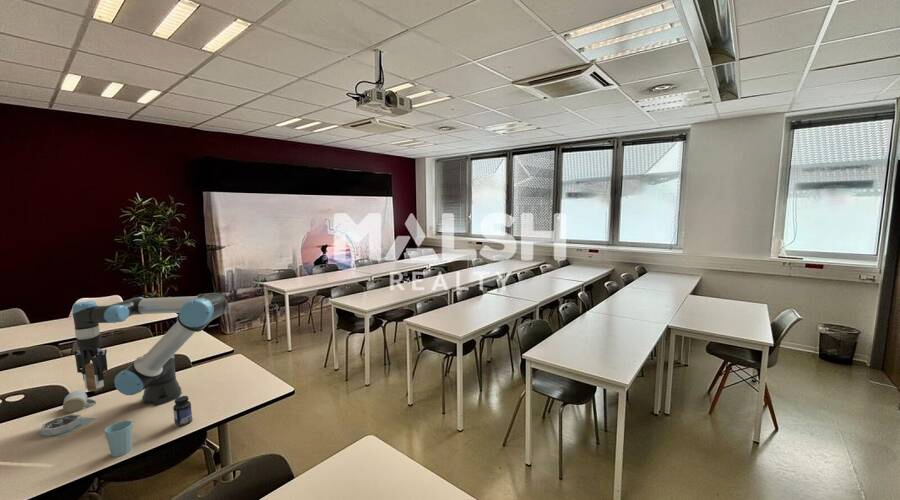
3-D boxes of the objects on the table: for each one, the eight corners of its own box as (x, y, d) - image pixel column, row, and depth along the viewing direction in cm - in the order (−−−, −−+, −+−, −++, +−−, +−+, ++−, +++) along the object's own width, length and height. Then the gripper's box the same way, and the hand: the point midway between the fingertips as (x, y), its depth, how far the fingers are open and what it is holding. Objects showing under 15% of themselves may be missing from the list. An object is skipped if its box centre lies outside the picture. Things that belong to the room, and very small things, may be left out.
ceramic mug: (63, 416, 162) (61, 400, 162) (64, 409, 168) (63, 393, 168) (96, 408, 169) (95, 392, 169) (96, 401, 175) (95, 386, 175)
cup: (107, 451, 138) (105, 425, 137) (134, 443, 143) (132, 418, 142) (106, 461, 132) (103, 434, 131) (134, 452, 137) (132, 426, 136)
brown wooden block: (93, 388, 164) (89, 363, 163) (102, 388, 164) (98, 363, 163) (87, 391, 162) (84, 365, 161) (97, 391, 162) (93, 365, 160)
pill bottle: (195, 418, 160) (193, 394, 159) (187, 426, 154) (185, 401, 153) (179, 419, 159) (177, 395, 158) (171, 427, 153) (169, 402, 152)
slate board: (97, 419, 160) (97, 417, 160) (61, 439, 146) (61, 437, 146) (70, 418, 161) (70, 416, 160) (31, 438, 147) (31, 436, 147)
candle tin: (64, 420, 158) (64, 413, 158) (88, 420, 157) (87, 413, 157) (34, 435, 147) (33, 428, 147) (59, 436, 146) (58, 428, 146)
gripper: (115, 333, 163) (121, 383, 166) (79, 333, 165) (85, 383, 167) (97, 339, 156) (104, 391, 158) (60, 339, 157) (67, 391, 160)
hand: (94, 387), depth 163 cm, fingers closed on brown wooden block, 4 cm apart
